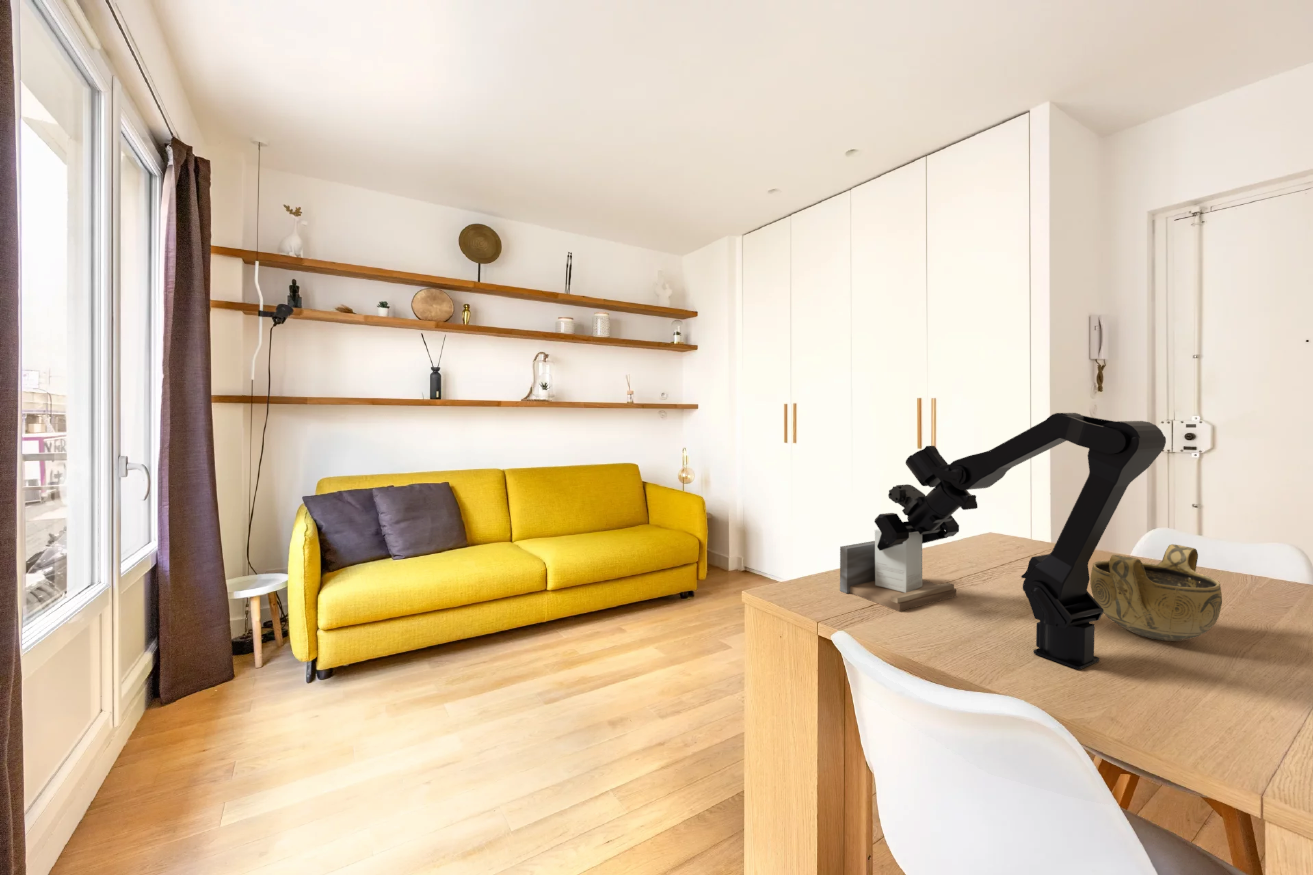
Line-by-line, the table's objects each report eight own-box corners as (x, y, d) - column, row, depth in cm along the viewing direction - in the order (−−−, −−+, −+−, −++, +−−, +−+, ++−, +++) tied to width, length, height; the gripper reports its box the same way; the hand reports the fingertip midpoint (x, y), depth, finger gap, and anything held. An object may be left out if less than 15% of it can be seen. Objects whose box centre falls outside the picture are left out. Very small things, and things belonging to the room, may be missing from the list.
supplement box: (923, 586, 114) (924, 529, 114) (906, 594, 110) (906, 534, 109) (891, 578, 120) (891, 524, 120) (873, 585, 116) (873, 528, 115)
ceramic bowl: (1181, 666, 81) (1184, 570, 80) (1059, 626, 96) (1061, 545, 96) (1247, 640, 90) (1251, 553, 89) (1126, 607, 105) (1128, 533, 105)
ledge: (959, 595, 113) (959, 549, 112) (896, 612, 104) (896, 562, 103) (900, 577, 126) (900, 536, 125) (839, 590, 117) (840, 546, 116)
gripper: (947, 471, 113) (905, 513, 124) (881, 475, 106) (843, 519, 117) (981, 513, 106) (933, 553, 117) (913, 521, 99) (869, 563, 110)
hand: (894, 546), depth 115 cm, fingers open, 9 cm apart
